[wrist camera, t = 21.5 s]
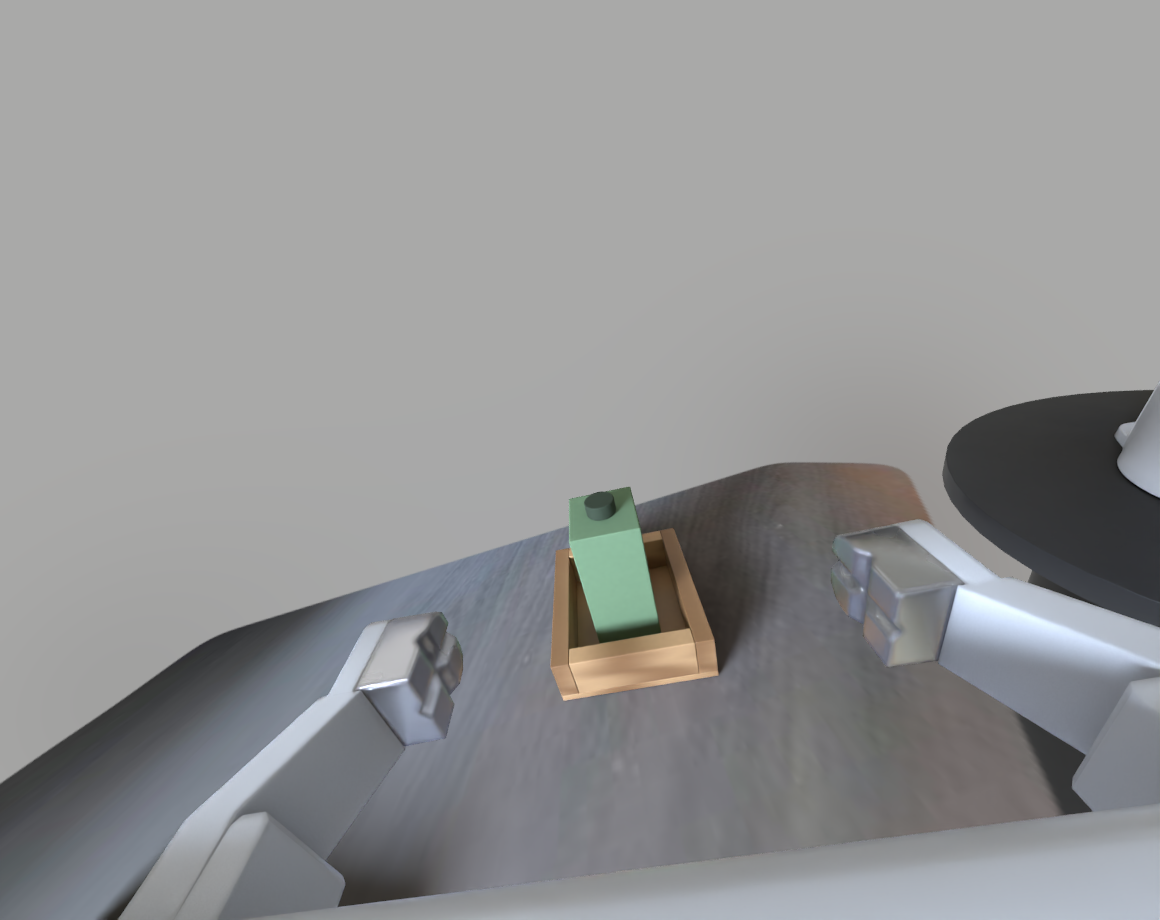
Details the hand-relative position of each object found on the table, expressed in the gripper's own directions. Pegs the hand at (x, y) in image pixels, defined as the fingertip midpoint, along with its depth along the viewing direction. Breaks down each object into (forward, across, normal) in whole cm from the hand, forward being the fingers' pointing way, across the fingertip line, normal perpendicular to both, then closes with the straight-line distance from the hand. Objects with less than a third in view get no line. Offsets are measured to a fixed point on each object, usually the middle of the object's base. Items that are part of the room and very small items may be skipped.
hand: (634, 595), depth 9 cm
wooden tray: (+17, +1, +20) cm, 26 cm away
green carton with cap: (+16, +2, +19) cm, 25 cm away
